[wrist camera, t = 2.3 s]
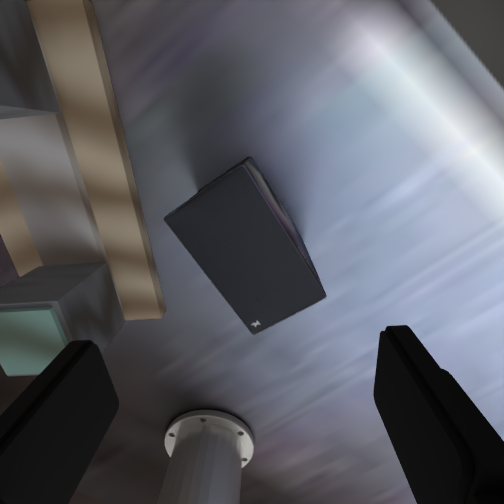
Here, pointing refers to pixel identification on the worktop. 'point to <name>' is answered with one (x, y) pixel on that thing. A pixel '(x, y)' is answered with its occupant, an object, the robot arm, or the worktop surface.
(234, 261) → the small box
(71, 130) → the rail board
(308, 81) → the worktop surface
